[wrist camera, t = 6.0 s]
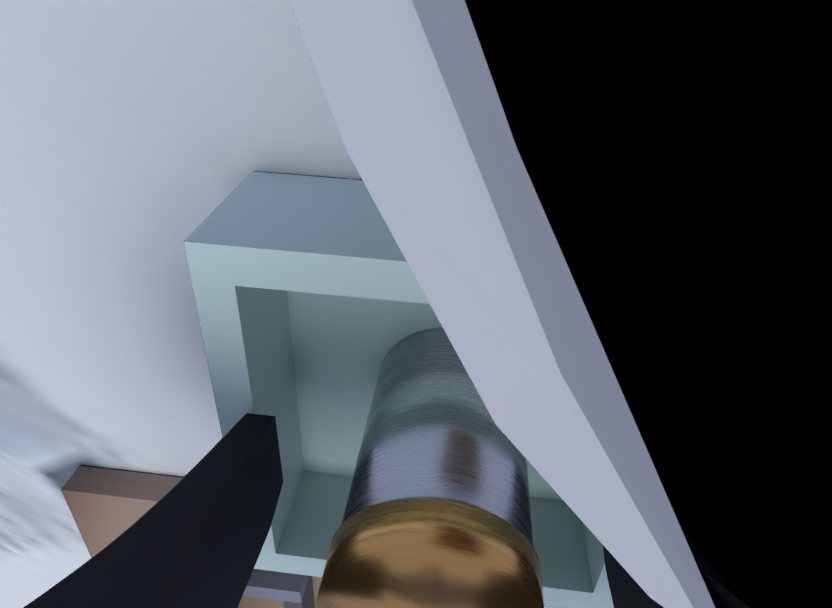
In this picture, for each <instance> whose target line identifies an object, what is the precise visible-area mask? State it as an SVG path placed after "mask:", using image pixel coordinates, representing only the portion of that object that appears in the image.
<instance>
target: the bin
mask: <svg viewBox="0 0 832 608" xmlns="http://www.w3.org/2000/svg"><path fill="white" fill-rule="evenodd" d="M184 247H185V252H186V257H187V262H188V267H189V272H190V277H191V282H192V287H193V292H194V297H195V302H196V307H197V312H198V317H199V322H200V327H201V332H202V337H203V342H204V347H205V352H206V357H207V362H208V367H209V372H210V377H211V382H212V387H213V392H214V397H215V402H216V407H217V412H218V417H219V422H220V427H221V432H222V437H224V436H225V435H226V434H227V433H228V432H229V431H230V429H231V428H232V427H233V426H234V425H235V424H236V423H237V422H238V421H239V420H240V419H241V418H242V417H243V416H244V415H245V414H247V413H251V414H260V415H269V416H275V418H276V426H277V434H278V442H279V450H280V458H281V466H282V474H283V485H282V488H281V492H280V496H279V499H278V503H277V507H276V510H275V513H274V517H273V520H272V524H271V527H270V530H269V532H268V535H267V537H266V540H265V542H264V545H263V547H262V550H261V552H260V554H259V557H258V559H257V562H256V564H255V567H254V569H260V570H268V571H276V572H284V573H292V574H300V575H308V576H316V577H322V576H323V572H324V568H325V564H326V560H327V556H328V552H329V548H330V545H331V541H332V538H333V536H334V534H335V532H336V531H337V529H338V528H339V527H340V526H341V523H342V519H343V515H344V511H345V507H346V503H347V499H348V495H349V491H350V487H351V483H352V479H353V475H354V471H355V467H356V463H357V459H358V455H359V451H360V447H361V443H362V439H363V435H364V431H365V427H366V423H367V419H368V415H369V411H370V407H371V403H372V399H373V395H374V391H375V387H376V383H377V379H378V374H379V371H380V367H381V364H382V361H383V359H384V357H385V356H386V354H387V353H388V351H389V350H390V349H391V348H392V347H393V346H394V345H395V344H396V343H398V342H399V341H400V340H402V339H403V338H405V337H407V336H409V335H411V334H413V333H415V332H418V331H422V330H425V329H431V328H439V327H442V325H441V323H440V322H439V320H438V318H437V316H436V314H435V312H434V311H433V309H432V307H431V305H430V303H429V301H428V299H427V298H426V296H425V294H424V292H423V290H422V288H421V287H420V285H419V283H418V281H417V279H416V277H415V276H414V274H413V272H412V270H411V268H410V266H409V265H408V263H407V261H406V259H405V257H404V255H403V254H402V252H401V250H400V248H399V246H398V244H397V243H396V241H395V239H394V237H393V235H392V233H391V232H390V230H389V228H388V226H387V224H386V222H385V221H384V219H383V217H382V215H381V213H380V211H379V210H378V208H377V206H376V204H375V202H374V200H373V199H372V197H371V195H370V193H369V191H368V189H367V188H366V186H365V184H364V182H363V180H354V179H341V178H329V177H316V176H304V175H291V174H279V173H267V172H254V171H253V172H252V173H251V174H250V175H249V176H248V177H247V178H246V179H245V180H244V181H243V182H242V183H241V184H240V185H239V186H238V187H237V188H236V189H235V190H234V191H233V192H232V193H231V194H230V195H229V196H228V197H227V198H226V199H225V200H224V201H223V202H222V203H221V204H220V205H219V206H218V207H217V208H216V209H215V210H214V212H213V213H212V214H211V215H210V216H209V217H208V218H207V219H206V220H205V221H204V222H203V223H202V224H201V225H200V226H199V227H198V228H197V229H196V230H195V231H194V232H193V233H192V234H191V235H190V236H189V237H188V238H187V239H186V240H185V241H184ZM527 470H528V483H529V496H530V510H531V523H532V536H533V547H534V549H535V550H536V552H537V554H538V557H539V561H540V564H541V576H542V588H543V600H544V605H545V606H553V607H560V608H614V606H613V601H612V597H611V592H610V587H609V583H608V578H607V573H606V569H605V560H604V551H603V544H602V543H601V542H600V541H599V540H598V539H597V538H596V536H595V535H594V534H593V533H592V532H591V531H590V530H589V529H588V527H587V526H586V525H585V524H584V523H583V522H582V521H581V520H580V518H579V517H578V516H577V515H576V514H575V513H574V512H573V511H572V509H571V508H570V507H569V506H568V505H567V504H566V503H565V502H564V501H563V499H562V498H561V497H560V496H559V495H558V494H557V493H556V492H555V490H554V489H553V488H552V487H551V486H550V485H549V484H548V483H547V481H546V480H545V479H544V478H543V477H542V476H541V475H540V474H539V472H538V471H537V470H536V469H535V468H534V467H533V466H532V465H531V463H530V462H529V461H528V460H527Z"/></svg>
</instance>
